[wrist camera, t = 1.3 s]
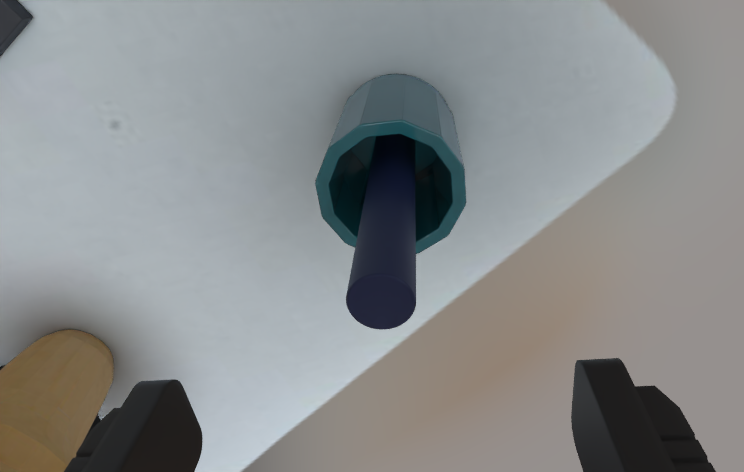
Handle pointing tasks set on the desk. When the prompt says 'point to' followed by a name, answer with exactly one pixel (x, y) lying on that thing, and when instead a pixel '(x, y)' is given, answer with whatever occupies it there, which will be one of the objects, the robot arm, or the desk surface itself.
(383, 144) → the pen
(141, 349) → the desk surface
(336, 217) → the pen cup
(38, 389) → the ice cream cone
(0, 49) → the sketch pad
